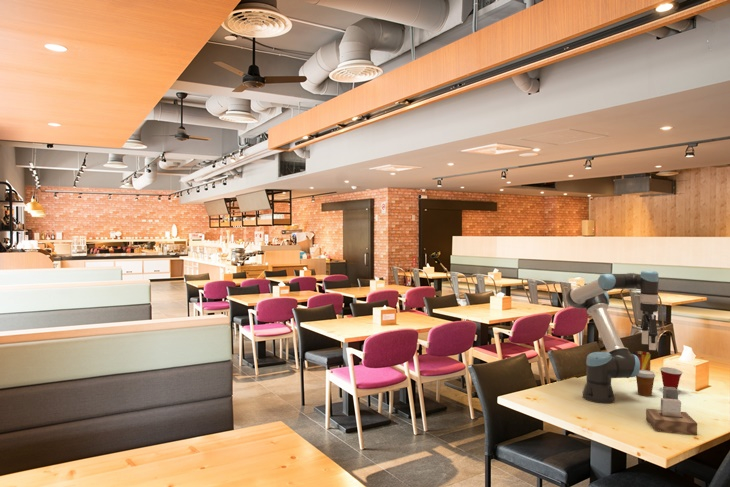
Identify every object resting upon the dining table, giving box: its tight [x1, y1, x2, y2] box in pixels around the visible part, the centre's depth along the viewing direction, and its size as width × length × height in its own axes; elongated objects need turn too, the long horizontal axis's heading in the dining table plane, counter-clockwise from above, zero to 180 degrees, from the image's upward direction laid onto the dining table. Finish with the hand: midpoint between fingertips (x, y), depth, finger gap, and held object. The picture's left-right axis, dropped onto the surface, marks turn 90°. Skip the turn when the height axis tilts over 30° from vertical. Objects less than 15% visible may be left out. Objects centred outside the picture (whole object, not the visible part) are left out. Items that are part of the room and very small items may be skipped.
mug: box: [632, 350, 651, 371], centre depth 309 cm, size 10×14×12 cm
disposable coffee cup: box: [635, 370, 656, 397], centre depth 266 cm, size 10×10×12 cm
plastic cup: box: [659, 366, 684, 390], centre depth 271 cm, size 11×11×12 cm
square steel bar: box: [662, 386, 679, 400], centre depth 237 cm, size 5×5×12 cm
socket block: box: [645, 408, 698, 436], centre depth 220 cm, size 16×14×5 cm
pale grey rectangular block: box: [660, 397, 682, 418], centre depth 220 cm, size 7×3×12 cm, turn 74°
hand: (648, 346), depth 241 cm, fingers open, 13 cm apart
